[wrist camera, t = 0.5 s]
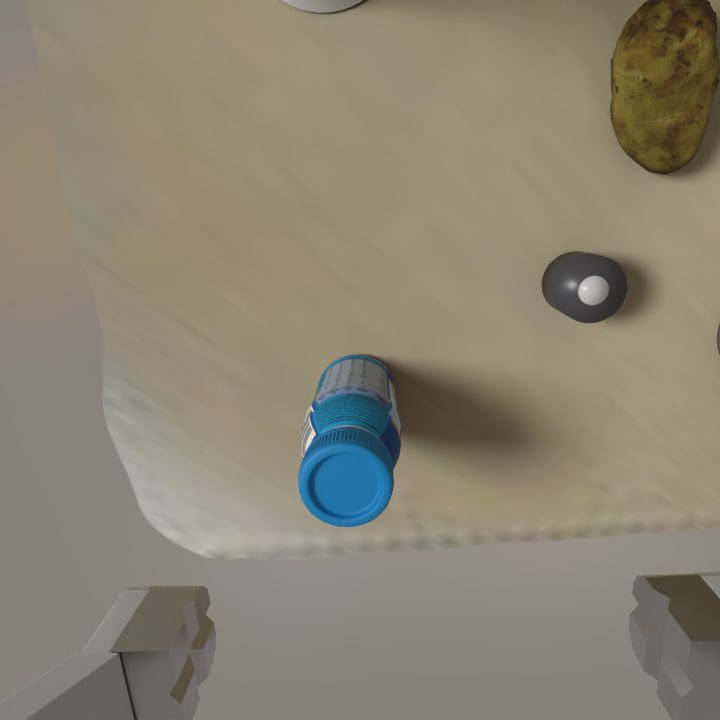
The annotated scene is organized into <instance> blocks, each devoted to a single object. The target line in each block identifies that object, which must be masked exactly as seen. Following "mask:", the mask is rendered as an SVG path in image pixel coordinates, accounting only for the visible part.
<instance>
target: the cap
mask: <svg viewBox="0 0 720 720" xmlns="http://www.w3.org/2000/svg"><path fill="white" fill-rule="evenodd" d="M542 292H543V295H544V297H545V299H546V301H547V302H548V303H549V304H550V305H551V306H552V307H553V308H555V309H556V310H558V311H560V312H562V313H563V314H565V315H567V316H569V317H570V318H572V319H574V320H576V321H579V322H583V323H595V322H599V321H602V320H604V319H606V318H608V317H610V316H611V315H612V314H614V313H615V312H616V311H617V310H618V309H619V307H620V306H621V304H622V303H623V301H624V298H625V296H626V292H627V279H626V276H625V273H624V271H623V270H622V268H621V267H620V266H619V265H618V264H617V263H616V262H615V261H613V260H611V259H609V258H606V257H603V256H598V255H594V254H589V253H584V252H578V251H574V252H568V253H565V254H562V255H560V256H559V257H557V258H556V259H554V260H553V261H552V262H551V263H550V264H549V266H548V267H547V269H546V271H545V272H544V275H543V279H542Z"/></svg>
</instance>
